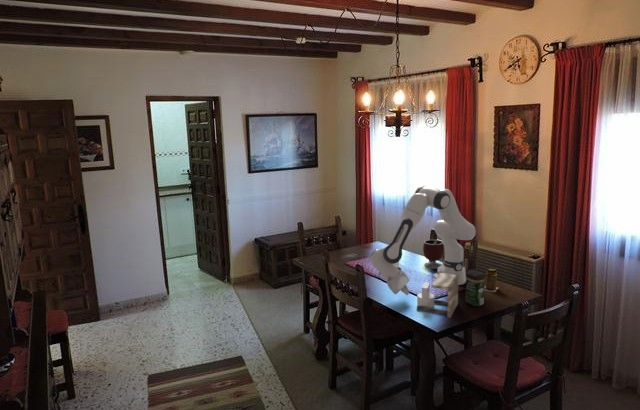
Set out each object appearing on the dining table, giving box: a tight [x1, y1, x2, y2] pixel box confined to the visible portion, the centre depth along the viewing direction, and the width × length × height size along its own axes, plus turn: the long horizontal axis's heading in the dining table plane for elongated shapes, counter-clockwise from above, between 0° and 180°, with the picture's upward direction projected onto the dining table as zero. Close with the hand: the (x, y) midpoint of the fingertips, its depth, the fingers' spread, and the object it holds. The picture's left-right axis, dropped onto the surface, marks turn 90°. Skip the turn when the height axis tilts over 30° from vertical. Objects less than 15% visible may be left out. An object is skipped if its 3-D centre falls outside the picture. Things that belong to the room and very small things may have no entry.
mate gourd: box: [422, 239, 445, 269], centre depth 306 cm, size 16×14×20 cm
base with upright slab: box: [416, 281, 435, 308], centre depth 240 cm, size 9×9×12 cm
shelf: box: [416, 273, 459, 319], centre depth 236 cm, size 18×20×16 cm
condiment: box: [483, 268, 499, 293], centre depth 261 cm, size 7×8×12 cm
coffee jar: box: [464, 269, 486, 307], centre depth 240 cm, size 10×8×19 cm
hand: (408, 293), depth 244 cm, fingers closed
